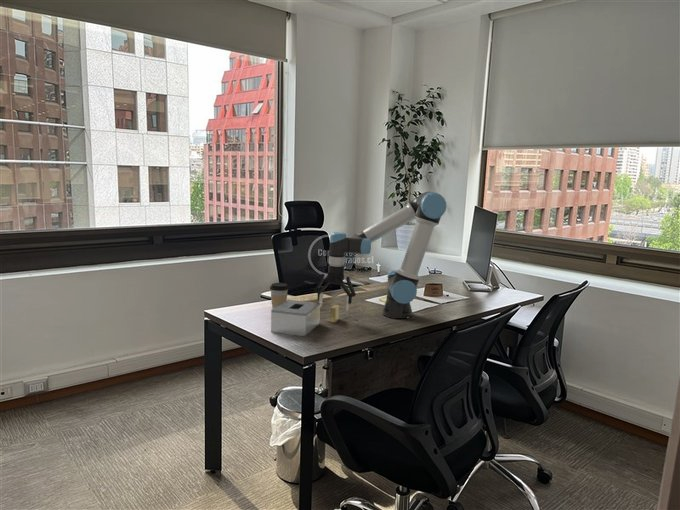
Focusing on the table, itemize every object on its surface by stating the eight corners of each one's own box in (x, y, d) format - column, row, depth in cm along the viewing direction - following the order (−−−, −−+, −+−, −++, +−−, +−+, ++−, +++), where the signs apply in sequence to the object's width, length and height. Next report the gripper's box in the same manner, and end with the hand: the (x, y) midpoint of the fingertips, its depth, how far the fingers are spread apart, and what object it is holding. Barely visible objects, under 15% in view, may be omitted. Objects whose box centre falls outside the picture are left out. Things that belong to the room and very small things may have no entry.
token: (338, 319, 242) (339, 305, 240) (335, 322, 236) (335, 308, 235) (333, 318, 242) (334, 304, 241) (330, 321, 236) (330, 307, 235)
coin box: (319, 323, 233) (320, 303, 231) (305, 336, 214) (305, 313, 212) (287, 319, 237) (288, 299, 235) (271, 331, 218) (271, 309, 216)
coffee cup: (279, 310, 253) (279, 281, 251) (292, 314, 247) (292, 284, 245) (265, 313, 246) (265, 284, 244) (278, 317, 240) (279, 287, 238)
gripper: (363, 266, 235) (360, 309, 238) (314, 261, 242) (311, 303, 245) (360, 269, 228) (357, 313, 231) (309, 263, 234) (306, 306, 238)
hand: (333, 308), depth 238 cm, fingers open, 13 cm apart
